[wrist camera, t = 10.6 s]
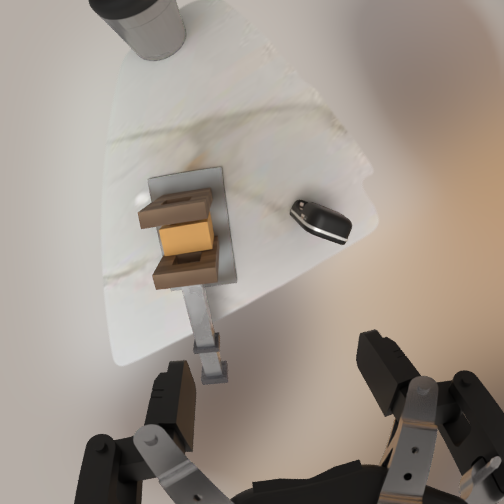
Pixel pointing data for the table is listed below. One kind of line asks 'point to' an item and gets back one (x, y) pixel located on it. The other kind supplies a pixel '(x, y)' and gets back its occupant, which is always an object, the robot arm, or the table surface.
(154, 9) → the robot arm
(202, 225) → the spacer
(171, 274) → the stand
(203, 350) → the shaft
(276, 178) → the table surface
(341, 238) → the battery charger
